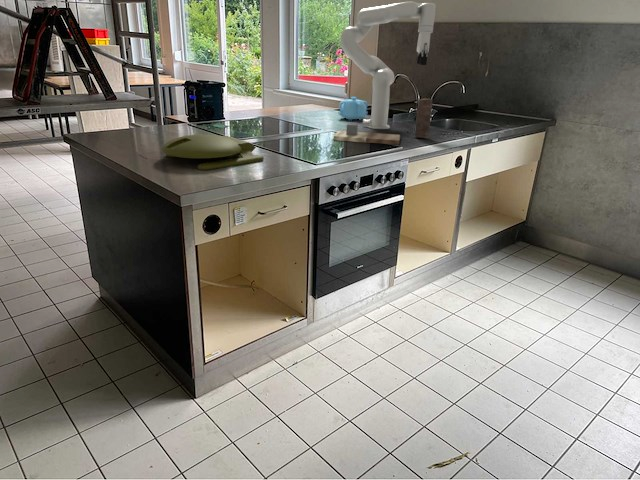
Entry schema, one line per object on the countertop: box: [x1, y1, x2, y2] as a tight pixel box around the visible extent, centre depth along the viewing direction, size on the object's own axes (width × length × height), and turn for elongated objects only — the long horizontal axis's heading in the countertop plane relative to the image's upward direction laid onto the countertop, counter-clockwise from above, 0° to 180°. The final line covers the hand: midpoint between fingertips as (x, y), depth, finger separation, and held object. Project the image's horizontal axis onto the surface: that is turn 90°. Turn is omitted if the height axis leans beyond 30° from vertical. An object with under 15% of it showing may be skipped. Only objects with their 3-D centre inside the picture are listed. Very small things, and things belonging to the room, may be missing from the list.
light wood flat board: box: [333, 130, 401, 146], centre depth 244 cm, size 32×16×2 cm, turn 80°
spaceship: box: [161, 133, 264, 171], centre depth 192 cm, size 35×31×10 cm
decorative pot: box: [337, 96, 369, 121], centre depth 302 cm, size 20×20×14 cm
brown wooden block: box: [414, 98, 433, 139], centre depth 249 cm, size 8×7×20 cm
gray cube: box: [345, 122, 359, 136], centre depth 243 cm, size 5×5×5 cm
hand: (421, 64), depth 258 cm, fingers open, 9 cm apart
